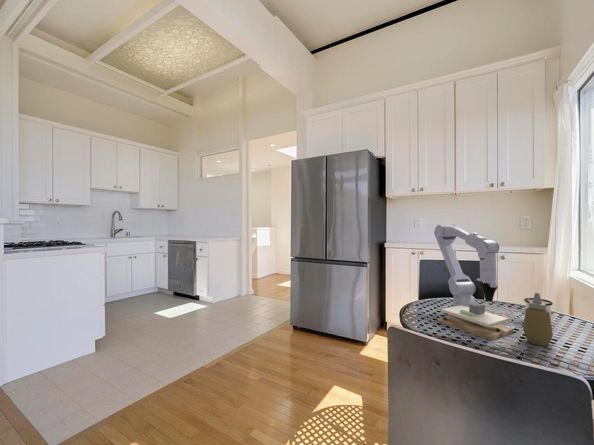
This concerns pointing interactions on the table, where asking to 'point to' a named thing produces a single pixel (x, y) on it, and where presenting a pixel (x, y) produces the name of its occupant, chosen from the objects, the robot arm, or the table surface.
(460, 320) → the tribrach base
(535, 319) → the squeeze bottle
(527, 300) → the mug
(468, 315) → the level plate
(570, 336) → the table surface
